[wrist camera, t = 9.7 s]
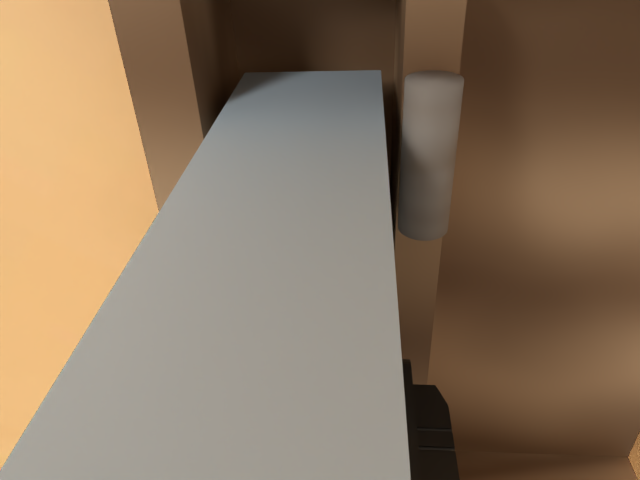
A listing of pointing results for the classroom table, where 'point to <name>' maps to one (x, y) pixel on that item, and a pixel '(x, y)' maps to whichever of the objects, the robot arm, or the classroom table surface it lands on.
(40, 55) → the classroom table surface
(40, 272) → the classroom table surface
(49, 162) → the classroom table surface
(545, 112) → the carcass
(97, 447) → the blue-gray square slab
